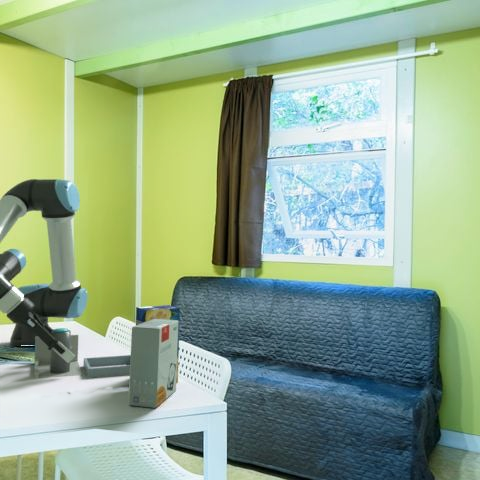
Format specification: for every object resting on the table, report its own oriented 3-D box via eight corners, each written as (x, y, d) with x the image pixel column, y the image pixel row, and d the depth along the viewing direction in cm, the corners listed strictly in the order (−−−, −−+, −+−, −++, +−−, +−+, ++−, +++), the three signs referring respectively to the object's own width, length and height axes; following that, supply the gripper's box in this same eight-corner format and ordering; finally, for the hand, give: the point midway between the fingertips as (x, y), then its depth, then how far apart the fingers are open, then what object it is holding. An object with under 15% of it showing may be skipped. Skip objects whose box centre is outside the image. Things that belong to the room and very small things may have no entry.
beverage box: (133, 381, 141) (135, 307, 141) (167, 376, 148) (169, 305, 148) (144, 388, 136) (146, 310, 136) (178, 382, 142) (180, 307, 142)
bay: (34, 367, 153) (35, 336, 153) (77, 364, 158) (78, 334, 158) (34, 383, 137) (35, 348, 137) (82, 379, 142) (83, 345, 142)
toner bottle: (49, 369, 147) (50, 328, 147) (69, 368, 149) (70, 327, 149) (50, 374, 141) (51, 331, 141) (70, 372, 144) (71, 330, 144)
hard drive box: (156, 409, 119) (158, 328, 119) (127, 406, 120) (129, 327, 120) (177, 390, 134) (178, 319, 134) (151, 388, 136) (153, 317, 136)
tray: (83, 370, 151) (83, 358, 151) (133, 366, 158) (133, 354, 158) (87, 382, 139) (88, 369, 139) (141, 378, 145) (142, 364, 145)
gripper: (7, 309, 150) (58, 355, 156) (2, 321, 128) (62, 374, 134) (26, 292, 152) (76, 338, 158) (24, 301, 131) (83, 354, 137)
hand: (70, 355), depth 146 cm, fingers open, 11 cm apart
